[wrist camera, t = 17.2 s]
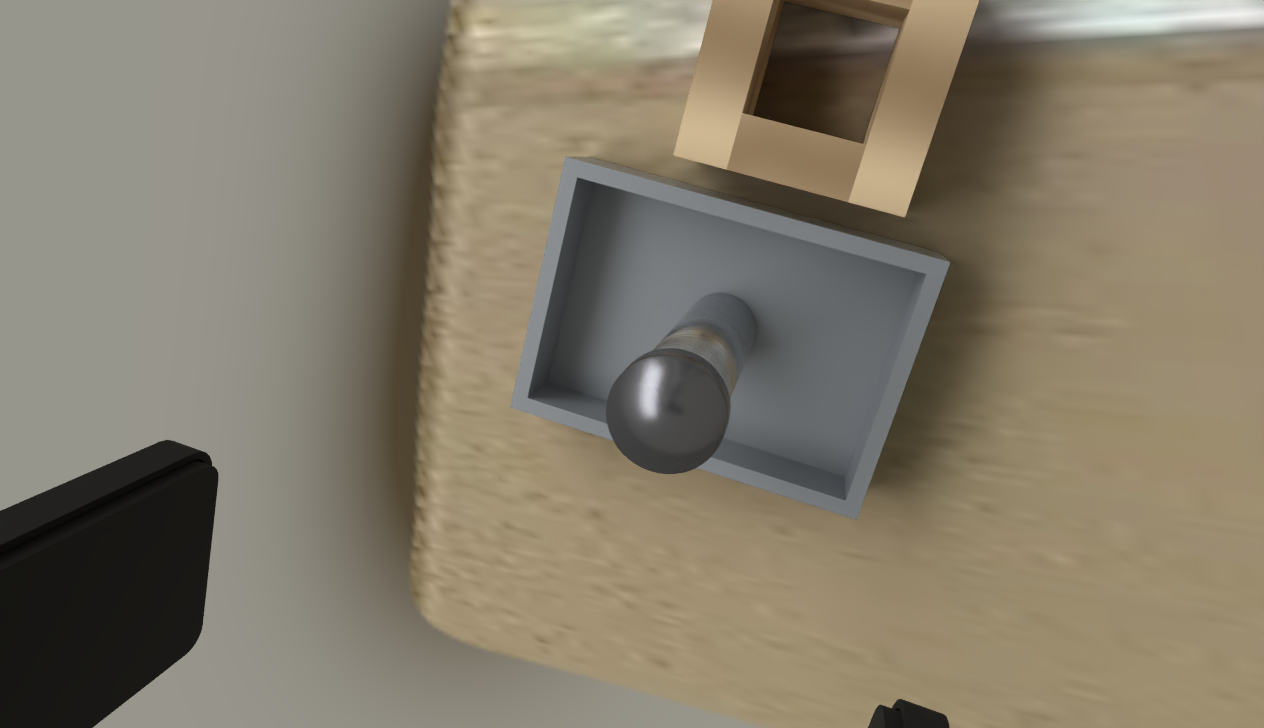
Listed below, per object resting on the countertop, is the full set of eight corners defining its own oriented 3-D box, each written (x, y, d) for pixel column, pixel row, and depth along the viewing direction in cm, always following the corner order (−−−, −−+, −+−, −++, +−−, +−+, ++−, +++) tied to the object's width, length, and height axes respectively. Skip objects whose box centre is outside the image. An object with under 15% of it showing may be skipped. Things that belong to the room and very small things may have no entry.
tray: (588, 156, 33) (565, 156, 30) (938, 252, 31) (950, 262, 28) (536, 387, 36) (510, 407, 33) (853, 488, 34) (856, 519, 31)
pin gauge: (692, 277, 33) (621, 341, 22) (771, 300, 32) (741, 377, 21) (671, 353, 34) (593, 452, 22) (748, 376, 33) (707, 489, 22)
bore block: (749, -66, 30) (738, -98, 26) (971, -16, 29) (993, -43, 25) (691, 155, 32) (673, 155, 29) (895, 210, 31) (904, 217, 27)
